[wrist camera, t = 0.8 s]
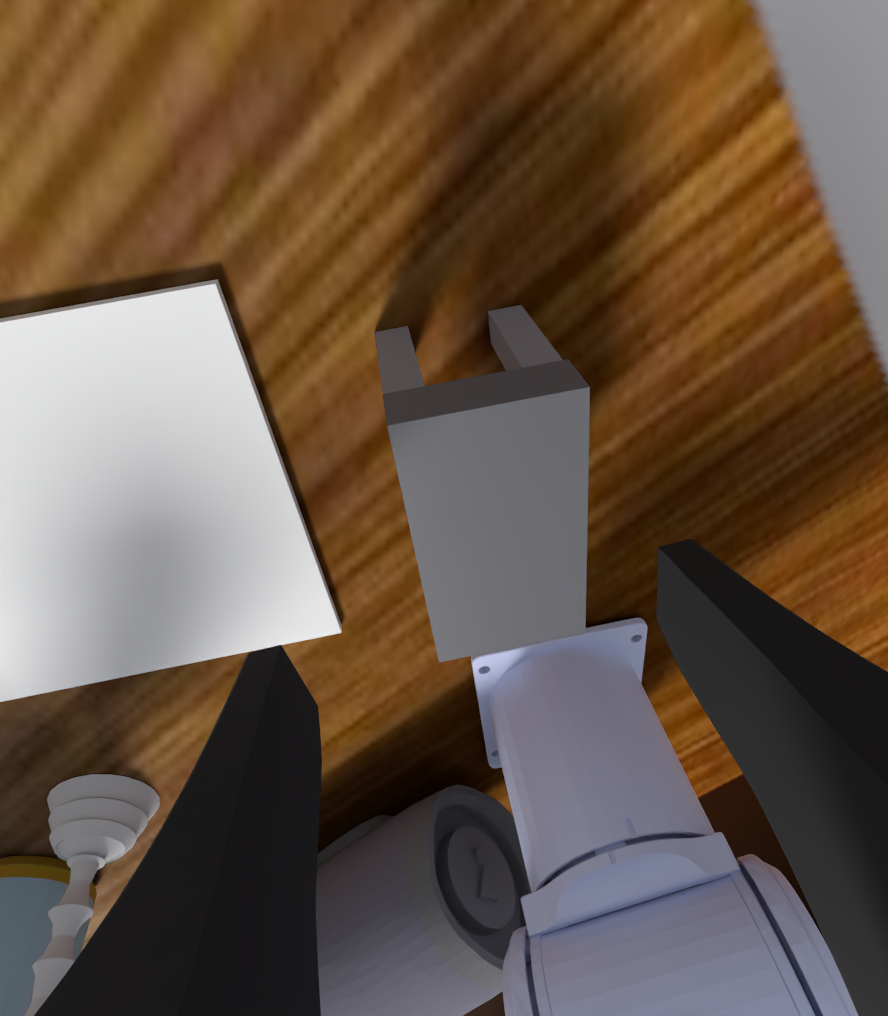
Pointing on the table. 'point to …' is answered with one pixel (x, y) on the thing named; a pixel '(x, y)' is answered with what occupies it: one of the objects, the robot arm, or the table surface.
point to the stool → (494, 488)
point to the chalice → (86, 856)
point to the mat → (142, 496)
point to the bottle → (29, 923)
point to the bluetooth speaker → (419, 908)
